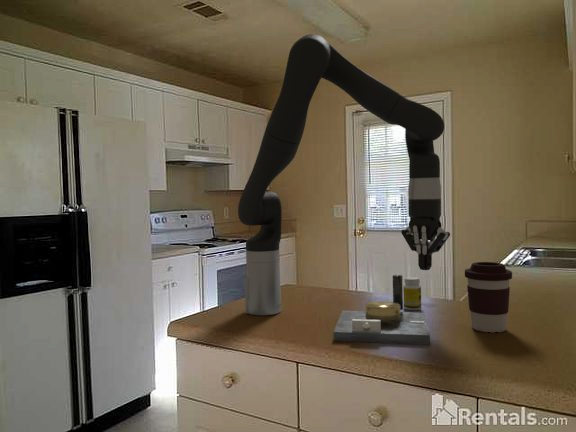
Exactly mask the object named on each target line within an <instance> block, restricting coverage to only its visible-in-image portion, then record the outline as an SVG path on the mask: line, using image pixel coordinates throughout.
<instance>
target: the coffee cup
mask: <svg viewBox="0 0 576 432" xmlns="http://www.w3.org/2000/svg"><path fill="white" fill-rule="evenodd" d="M464 277H465V278H467V288H466V289H467V299H468V300H467V301H468V309H469V311H470V312H469V313H470V323H471V327H472V329H474V330H476V331H478V332H483V333H488V332H490V333H491V334H493V333H494V334H495V332H498V333H503V332H505V331H507V324H508V323H507V322H508V321H507V320H508V313H509V308H510V307H509V304H510V291H511V290H510V289H511V287H510V280H512V279H513V271H512V270H510V269H507V268H506V266H505V264H504V263H502V262H501V263H500V262H494V261H476V262H473V263H471V266H470V267H469V268H466V269H464Z"/></svg>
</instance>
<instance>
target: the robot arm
mask: <svg viewBox="0 0 576 432" xmlns="http://www.w3.org/2000/svg"><path fill="white" fill-rule="evenodd" d="M321 79H324V80H326V81H328V82H330V83H332V84H333V85H335V86H337V87H338V88H339V89H341V90H342V91H343V92H344V93H346V94H347V95H348V96H350V97H351V98H352V99H353V100H354V101H355V102H356V103H357V104H358V105H360V107H362V108H363V109H365V110H366V111H368V112H370V114H372V115H374V116H376V117H377V118H378V119H380V120H382V121H383V122H385V123H387V124H389V125H394V126H395V125H397V126H399V127H402V128H403V129H405V130H404V134H405V135H404V138H405V145H406V151H407V156H408V160H409V162H408V163H409V165H408V168H409V169H408V172H409V173H408V176H409V180H408V186H407V187H408V189H407V190H408V191H407V193H408V194H407V197H408V198H407V200H408V201H407V202H408V203H407V205H408V206H407V207H408V208H407V209H408V211H407V212H408V213H407V214H408V217H409V222H408V226H407V227H406V228H405V229H402V230H401V232H400V233H401V235H402V237H403V238H404V240H405V242H406V243H407V246H408V247H409V248H410V250H411V251H412V252H416V254H417V256H418V258H417V259H418V260H417V261H418V263H417V265H418V268H419V270H421V271H429V270H430V269H431V268H432V266H433V264H432V263H433V259H432V257H433V256H432V255H433V254H435V253H438V252H439V251H440V250H441V249H442V247H443V246H444V245H445V243H446V242H447V240H448V239H449V238H450V237H451V233H450V232H449V231H445V230H444V228H443V227H442V226H443V225H442V223H441V219H440V218H441V216H442V185H441V162H440V160H441V159H440V157H439V155H438V154H437V153H435V145H434V142H435V141H436V140H437V139H440V137H441V136H442V135H443V133H444V130H445V122H444V119H443V118H442V116H441V115H440V114H439V113H438V112H437V111H435V110H434V109H432V108H430V107H428V106H426V105H424V104H422V103H419V102H417V101H414V100H412V99H409V98H407V97H405V96H404V95H402V94H401V93H399V92H398V91H396V90H395V89H392V87H390V86H389V85H387V84H385V83H383V82H381V80H379V79H377V78H375V77H373V76H372V75H370V74H368V73H367V72H366V71H364V70H362V69H361V68H359V67H358V66H357V65H355V64H353V63H352V62H351V61H349V60H348V59H347V58H346V57H345V56H343V55H342V54H341V53H340V52H339V51H337V50H336V48H334V47H333V46H332V45H331V44H330V43H329V42H328V41H327V40H326V39H325V38H324V37H322V36H321V35H318V34H313V33H310V34H306V35H303V36H302V37H300V38H298V40H296V41H295V42H294V43H293V45H292V46H291V48H290V50H289V53H288V57H287V63H286V67H285V72H284V77H283V80H282V81H283V82H282V86H281V90H280V92H279V96H278V97H277V100H276V102H275V104H274V107H273V109H272V111H271V114H270V117H269V119H268V122H267V125H266V127H265V130H264V133H263V136H262V140H261V142H260V146H259V150H258V153H257V155H256V159H255V161H254V164H253V168H252V170H251V173H250V174H249V178H248V179H247V182H246V183H245V186H244V189H243V191H242V193H241V195H240V198H239V201H238V206H237V215H238V219H239V221H240V223H241V224H243V225H245V226H250V227H251V226H252V227H255V226H259V227H260V229H259V230H258V232H257V233H255V235H253V236H252V237H250V238H248V239H247V240H246V242H245V260H246V261H245V263H246V265H245V266H246V277H245V278H244V280H243V281H244V306H245V307H244V311H245V313H244V314H246V315H247V314H249V315H252V316H271V315H272V316H273V315H276V314H280V313H281V311H282V299H281V298H282V297H281V296H282V295H281V293H282V292H281V265H280V263H281V261H280V243H281V239H282V215H283V214H282V213H283V211H282V210H283V208H282V201H281V198H280V197H279V195H278V194H277V193H276V192H274V191H267V190H268V187H269V186H270V185H271V183H273V181H274V179H276V178H277V177H278V176H279V175H280V174H281V173H282V172H283V171H284V170H285V169H286V168H287V167H288V166H289V165H290V164H291V163H292V161H293V160H294V159H295V156H296V155H297V152H298V150H299V146H300V144H301V141H302V137H303V134H304V131H305V128H306V122H307V118H308V111H309V107H310V103H311V101H312V98H313V95H314V93H315V91H316V89H317V87H318V85H319V83H320V81H321Z"/></svg>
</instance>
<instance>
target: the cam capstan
mask: <svg viewBox="0 0 576 432" xmlns="http://www.w3.org/2000/svg"><path fill="white" fill-rule="evenodd" d="M403 286H404V285H403V275H402V274H394V275H392V302H391V301H381V300H379V301H371V302H368V303H366V304H365V308H364V309H365V310H364V311H366V319H367V320H381V323H389V322H396V321H399V320H400V319H401V314H400V312H401V311H402V310H404V295H403Z"/></svg>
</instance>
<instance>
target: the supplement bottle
mask: <svg viewBox="0 0 576 432" xmlns="http://www.w3.org/2000/svg"><path fill="white" fill-rule="evenodd" d="M403 309H405V310H408V311H420V310H421V309H422V286H421V285H420V278H419V277H416V276H415V277H414V276H407V277H404V285H403Z"/></svg>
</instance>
